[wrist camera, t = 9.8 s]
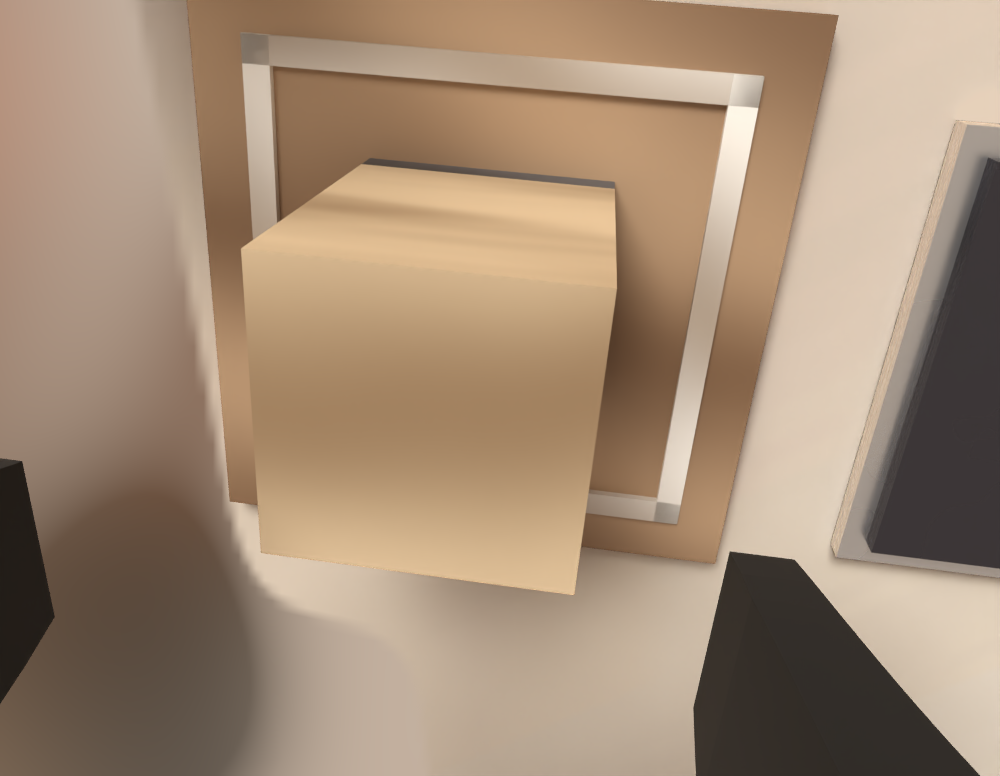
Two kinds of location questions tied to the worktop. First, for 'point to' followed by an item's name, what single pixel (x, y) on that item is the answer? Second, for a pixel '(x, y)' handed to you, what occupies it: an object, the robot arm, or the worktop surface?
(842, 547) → the pad
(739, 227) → the board
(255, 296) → the stamp
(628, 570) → the worktop surface
